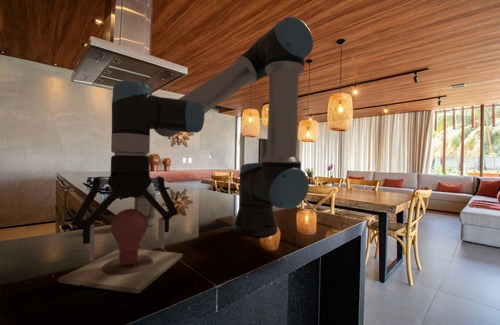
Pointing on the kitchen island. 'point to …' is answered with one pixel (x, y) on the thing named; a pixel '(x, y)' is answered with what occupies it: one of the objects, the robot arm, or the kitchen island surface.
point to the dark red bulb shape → (129, 233)
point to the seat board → (123, 271)
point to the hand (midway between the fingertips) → (128, 252)
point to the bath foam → (147, 205)
